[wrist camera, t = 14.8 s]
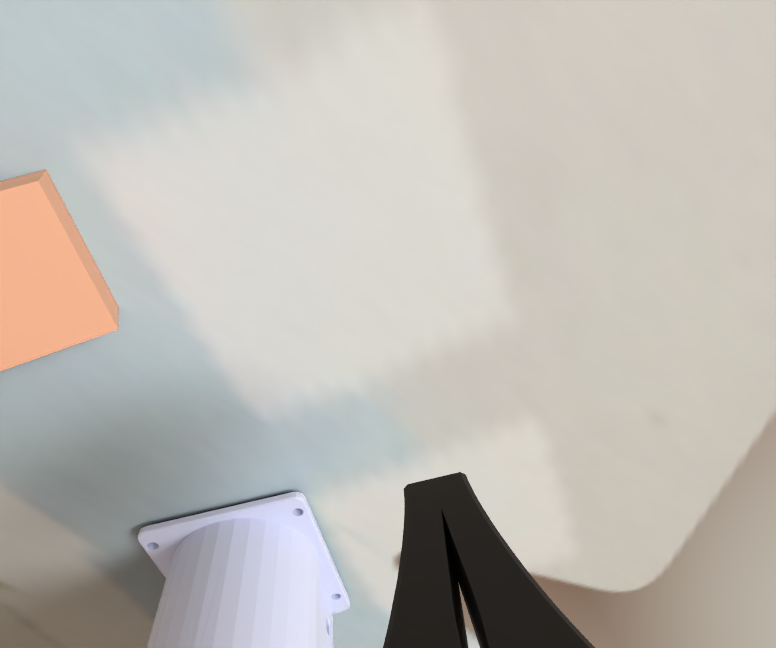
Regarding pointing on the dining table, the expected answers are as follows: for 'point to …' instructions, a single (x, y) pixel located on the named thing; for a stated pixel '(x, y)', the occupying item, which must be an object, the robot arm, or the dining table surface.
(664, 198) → the dining table surface
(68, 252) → the terracotta domino
